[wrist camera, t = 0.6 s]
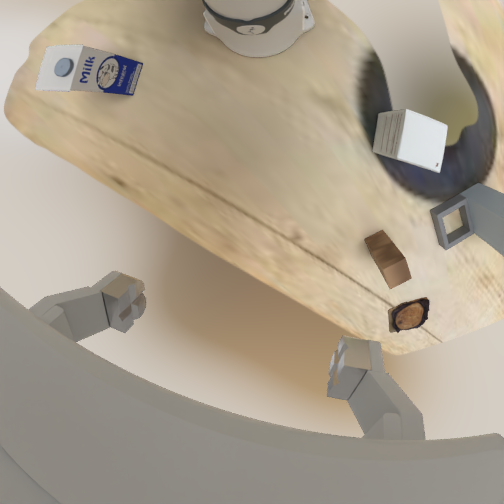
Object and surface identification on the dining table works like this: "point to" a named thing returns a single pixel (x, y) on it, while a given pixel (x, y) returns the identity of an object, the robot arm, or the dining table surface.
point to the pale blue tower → (473, 217)
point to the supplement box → (410, 138)
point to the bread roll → (408, 315)
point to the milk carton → (87, 71)
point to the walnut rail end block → (388, 259)
